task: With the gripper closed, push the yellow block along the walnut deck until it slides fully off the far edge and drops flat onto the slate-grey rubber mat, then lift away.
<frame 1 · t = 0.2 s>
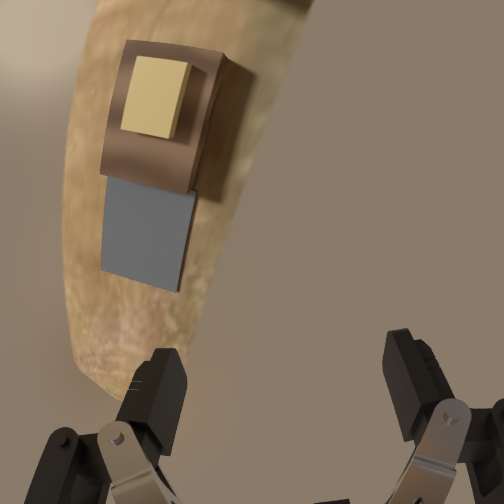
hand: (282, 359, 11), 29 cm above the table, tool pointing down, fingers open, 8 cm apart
mat: (143, 233, 41), on the table
yellow block: (158, 96, 30), point 4 cm above the table, touching deck
deck: (165, 113, 34), on the table
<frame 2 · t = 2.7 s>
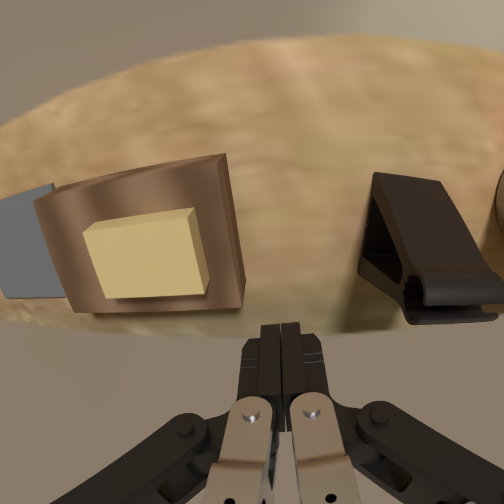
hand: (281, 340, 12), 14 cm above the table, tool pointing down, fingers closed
mat: (23, 248, 28), on the table
phone stand: (397, 226, 25), on the table
yellow block: (150, 250, 23), point 4 cm above the table, touching deck
deck: (145, 231, 26), on the table
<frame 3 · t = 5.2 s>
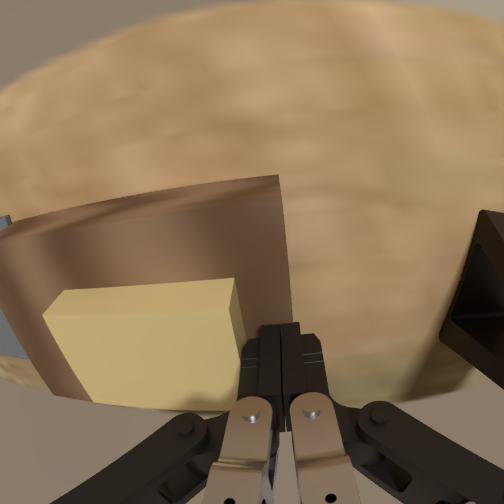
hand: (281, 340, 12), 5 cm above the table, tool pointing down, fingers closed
phone stand: (491, 277, 16), on the table
yellow block: (156, 337, 13), point 4 cm above the table, touching deck, gripper
deck: (144, 291, 17), on the table
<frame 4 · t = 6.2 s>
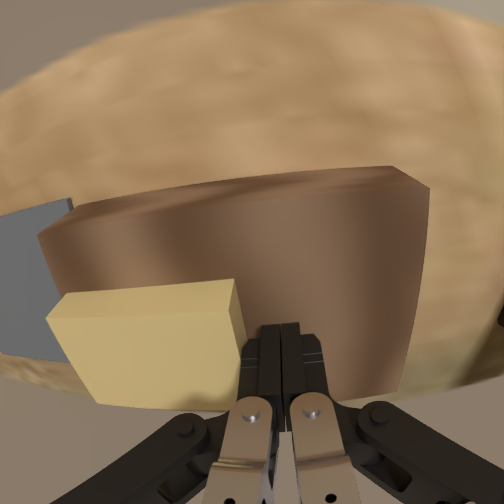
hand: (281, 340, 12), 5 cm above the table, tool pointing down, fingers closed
mat: (23, 295, 18), on the table
yellow block: (158, 338, 14), point 4 cm above the table, touching deck, gripper
deck: (240, 283, 17), on the table
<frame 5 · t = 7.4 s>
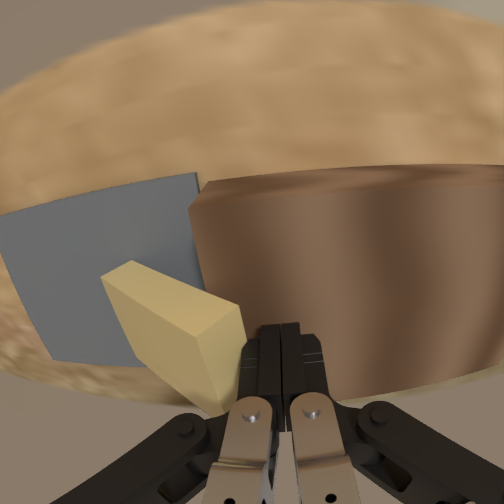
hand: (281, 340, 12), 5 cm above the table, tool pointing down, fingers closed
mat: (99, 291, 18), on the table
yellow block: (189, 327, 15), point 3 cm above the table, tilted 38°, touching gripper
deck: (377, 269, 16), on the table
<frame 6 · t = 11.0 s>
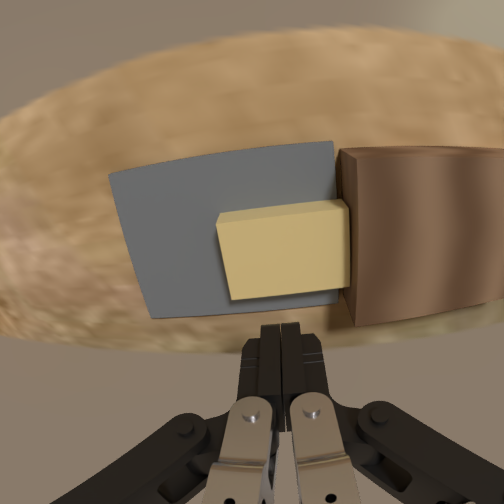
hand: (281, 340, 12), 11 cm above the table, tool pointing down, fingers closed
mat: (228, 239, 22), on the table
yellow block: (285, 243, 22), resting on mat
deck: (442, 218, 21), on the table
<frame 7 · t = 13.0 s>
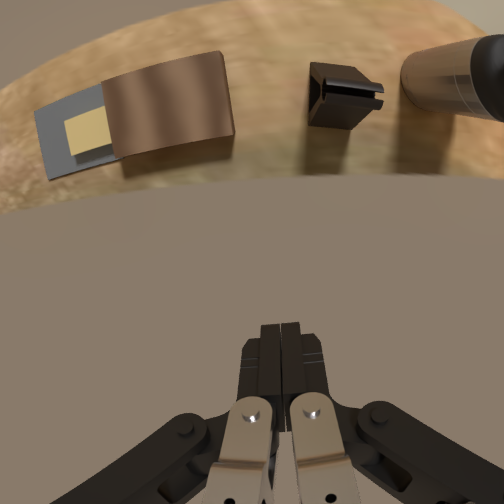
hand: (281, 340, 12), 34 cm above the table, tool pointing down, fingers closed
mat: (75, 132, 40), on the table
phone stand: (331, 95, 38), on the table
yellow block: (95, 129, 40), resting on mat
deck: (171, 104, 39), on the table
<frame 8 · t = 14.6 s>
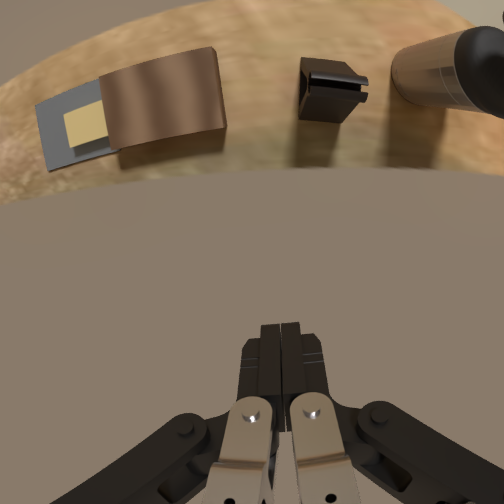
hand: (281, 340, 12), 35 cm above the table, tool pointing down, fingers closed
mat: (74, 125, 42), on the table
phone stand: (321, 90, 39), on the table
yellow block: (93, 122, 41), resting on mat
deck: (165, 98, 40), on the table
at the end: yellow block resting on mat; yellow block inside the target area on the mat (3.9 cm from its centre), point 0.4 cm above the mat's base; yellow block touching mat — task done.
